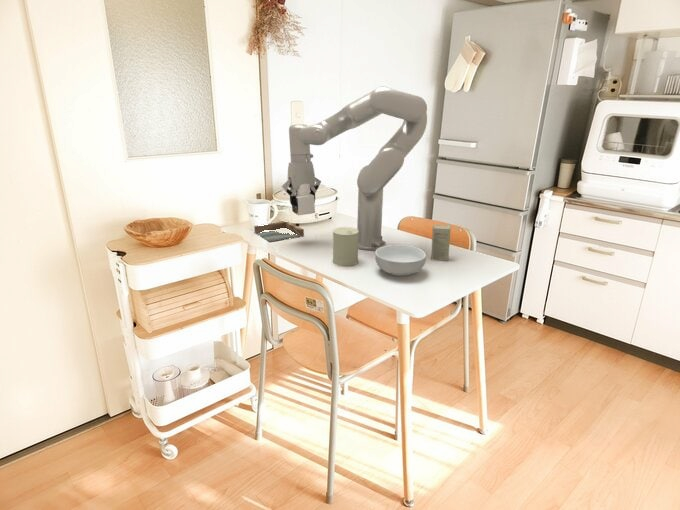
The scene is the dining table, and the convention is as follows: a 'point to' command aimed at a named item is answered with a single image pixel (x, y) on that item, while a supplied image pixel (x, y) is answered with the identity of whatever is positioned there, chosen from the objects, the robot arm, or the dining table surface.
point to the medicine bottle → (304, 201)
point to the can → (345, 246)
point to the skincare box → (440, 242)
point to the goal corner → (277, 236)
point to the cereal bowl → (400, 259)
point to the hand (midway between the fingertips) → (303, 203)
